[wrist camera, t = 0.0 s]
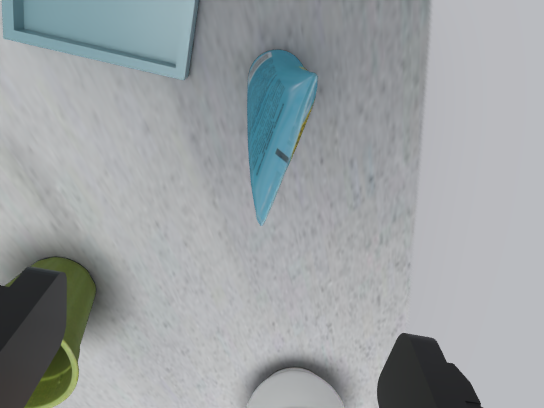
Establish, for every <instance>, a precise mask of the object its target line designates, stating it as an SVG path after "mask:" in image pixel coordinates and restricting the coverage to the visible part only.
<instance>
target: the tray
mask: <svg viewBox="0 0 544 408" xmlns="http://www.w3.org/2000/svg"><path fill="white" fill-rule="evenodd" d="M198 4H199V0H2V18H3V38H4V39H8V40H12V41H16V42H21V43H25V44H29V45H34V46H38V47H42V48H47V49H51V50H55V51H59V52H64V53H68V54H72V55H77V56H81V57H85V58H90V59H94V60H98V61H102V62H107V63H111V64H115V65H120V66H124V67H128V68H133V69H137V70H141V71H145V72H150V73H154V74H158V75H163V76H167V77H171V78H176V79H180V80H185V79H186V78H187V77H188V76H189V69H190V62H191V54H192V47H193V40H194V33H195V26H196V19H197V12H198Z"/></svg>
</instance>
